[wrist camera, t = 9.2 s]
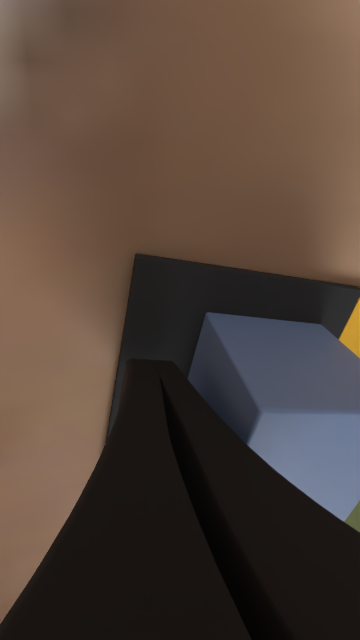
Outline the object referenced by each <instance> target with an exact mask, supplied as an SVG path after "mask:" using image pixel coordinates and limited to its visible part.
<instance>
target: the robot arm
mask: <svg viewBox="0 0 360 640" xmlns="http://www.w3.org/2000/svg"><path fill="white" fill-rule="evenodd" d="M0 640H360V532H358V531H357V530H355V529H354V528H353V527H351V526H350V525H348V524H347V523H345V522H344V521H342V520H341V519H339V518H338V517H336V516H335V515H333V514H332V513H331V512H329V511H328V510H326V509H325V508H324V507H322V506H321V505H319V504H318V503H317V502H315V501H314V500H313V499H311V498H310V497H309V496H308V495H306V494H305V493H304V492H302V491H301V490H300V489H298V488H297V487H296V486H295V485H293V484H292V483H291V482H289V481H288V480H287V479H286V478H284V477H283V476H282V475H281V474H280V473H278V472H277V471H276V470H275V469H274V468H272V467H271V466H270V465H269V464H268V463H267V462H266V461H265V460H263V459H262V458H261V457H260V456H259V455H258V454H257V453H255V452H254V451H253V450H252V449H251V448H250V447H249V446H248V445H247V444H246V443H245V442H244V441H243V440H242V439H241V438H240V437H239V436H238V435H237V434H236V433H235V432H234V431H233V430H232V429H231V428H230V427H229V426H228V425H227V424H226V423H225V422H224V421H223V420H222V419H221V418H220V417H219V416H218V414H217V413H216V412H215V411H214V410H213V409H212V408H211V407H210V405H209V404H208V403H207V402H206V401H205V400H204V399H203V397H202V396H201V395H200V394H199V393H198V391H197V390H196V389H195V388H194V386H193V385H192V384H191V383H190V382H189V380H188V379H187V378H186V377H185V375H184V374H183V373H182V372H181V370H180V369H179V368H178V367H177V365H176V364H175V363H174V362H173V361H167V360H150V359H134V358H131V359H129V360H128V361H126V366H125V372H124V378H123V384H122V390H121V396H120V402H119V408H118V414H117V417H116V419H115V422H114V424H113V427H112V430H111V432H110V435H109V437H108V440H107V442H106V445H105V447H104V449H103V451H102V454H101V456H100V458H99V460H98V462H97V464H96V466H95V468H94V470H93V472H92V474H91V476H90V478H89V480H88V482H87V484H86V486H85V488H84V490H83V492H82V494H81V495H80V497H79V499H78V501H77V503H76V505H75V506H74V508H73V510H72V512H71V514H70V515H69V517H68V519H67V521H66V522H65V524H64V525H63V527H62V529H61V530H60V532H59V534H58V535H57V537H56V539H55V540H54V542H53V544H52V545H51V547H50V549H49V550H48V552H47V554H46V555H45V557H44V559H43V560H42V562H41V563H40V565H39V567H38V568H37V570H36V571H35V573H34V575H33V576H32V578H31V579H30V581H29V582H28V584H27V585H26V587H25V588H24V590H23V591H22V593H21V594H20V596H19V597H18V599H17V600H16V602H15V603H14V605H13V606H12V608H11V609H10V611H9V612H8V614H7V615H6V617H5V618H4V620H3V621H2V622H1V624H0Z"/></svg>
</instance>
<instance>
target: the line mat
mask: <svg viewBox="0 0 360 640" xmlns="http://www.w3.org/2000/svg"><path fill="white" fill-rule="evenodd" d="M207 312H210V313H220V314H229V315H238V316H248V317H257V318H266V319H276V320H285V321H295V322H304V323H313V324H321V325H322V326H324V327H325V328H326V329H327V330H328V331H329V332H330V333H332V334H333V335H334V336H335V337H336V338H337V339H338V340H340V341H341V342H342V343H343V344H344V345H345V346H346V347H347V348H349V349H350V350H351V351H352V352H353V353H354V354H355V355H357V356H358V357H359V358H360V287H357V286H350V285H344V284H337V283H330V282H323V281H317V280H310V279H303V278H297V277H290V276H283V275H277V274H270V273H263V272H257V271H250V270H243V269H237V268H230V267H223V266H217V265H210V264H203V263H197V262H190V261H183V260H177V259H170V258H163V257H157V256H150V255H143V254H135V260H134V266H133V273H132V279H131V285H130V292H129V298H128V305H127V311H126V317H125V324H124V330H123V337H122V343H121V349H120V356H119V362H118V368H117V375H116V381H115V388H114V394H113V400H112V407H111V413H110V419H109V426H108V432H107V439H106V442H107V440H108V437H109V435H110V432H111V430H112V427H113V424H114V422H115V419H116V417H117V414H118V408H119V402H120V396H121V390H122V384H123V378H124V372H125V366H126V361H128V360H129V359H131V358H134V359H150V360H167V361H173V362H174V363H175V364H176V365H177V367H178V368H179V369H180V370H181V372H182V373H183V374H184V375H185V377H186V378H187V379H188V375H189V372H190V368H191V364H192V361H193V357H194V354H195V350H196V346H197V343H198V339H199V336H200V332H201V328H202V325H203V321H204V318H205V314H206V313H207Z"/></svg>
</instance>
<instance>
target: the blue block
mask: <svg viewBox="0 0 360 640" xmlns="http://www.w3.org/2000/svg"><path fill="white" fill-rule="evenodd" d="M188 380H189V382H190V383H191V384H192V385H193V386H194V388H195V389H196V390H197V391H198V393H199V394H200V395H201V396H202V397H203V399H204V400H205V401H206V402H207V403H208V404H209V405H210V407H211V408H212V409H213V410H214V411H215V412H216V413H217V414H218V416H219V417H220V418H221V419H222V420H223V421H224V422H225V423H226V424H227V425H228V426H229V427H230V428H231V429H232V430H233V431H234V432H235V433H236V434H237V435H238V436H239V437H240V438H241V439H242V440H243V441H244V442H245V443H246V444H247V445H248V446H249V447H250V448H251V449H252V450H253V451H254V452H255V453H257V454H258V455H259V456H260V457H261V458H262V459H263V460H265V461H266V462H267V463H268V464H269V465H270V466H271V467H272V468H274V469H275V470H276V471H277V472H278V473H280V474H281V475H282V476H283V477H284V478H286V479H287V480H288V481H289V482H291V483H292V484H293V485H295V486H296V487H297V488H298V489H300V490H301V491H302V492H304V493H305V494H306V495H308V496H309V497H310V498H311V499H313V500H314V501H315V502H317V503H318V504H319V505H321V506H322V507H324V508H325V509H326V510H328V511H329V512H331V513H332V514H333V515H335V516H336V517H338V518H339V519H341V520H342V521H345V520H346V519H347V517H348V516H349V514H350V513H351V512H352V510H353V509H354V508H355V506H356V505H357V503H358V502H359V501H360V358H359V357H358V356H357V355H355V354H354V353H353V352H352V351H351V350H350V349H349V348H347V347H346V346H345V345H344V344H343V343H342V342H341V341H340V340H338V339H337V338H336V337H335V336H334V335H333V334H332V333H330V332H329V331H328V330H327V329H326V328H325V327H324V326H322V325H321V324H313V323H304V322H295V321H285V320H276V319H266V318H257V317H248V316H238V315H229V314H220V313H210V312H207V313H206V314H205V318H204V321H203V325H202V328H201V332H200V336H199V339H198V343H197V346H196V350H195V354H194V357H193V361H192V364H191V368H190V372H189V375H188Z"/></svg>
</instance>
